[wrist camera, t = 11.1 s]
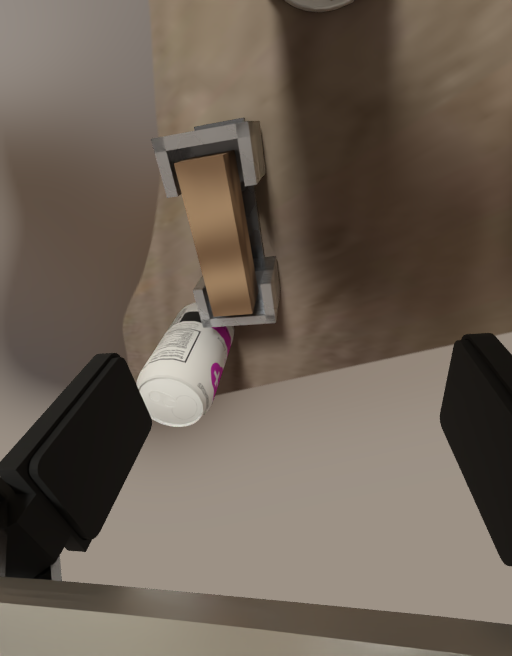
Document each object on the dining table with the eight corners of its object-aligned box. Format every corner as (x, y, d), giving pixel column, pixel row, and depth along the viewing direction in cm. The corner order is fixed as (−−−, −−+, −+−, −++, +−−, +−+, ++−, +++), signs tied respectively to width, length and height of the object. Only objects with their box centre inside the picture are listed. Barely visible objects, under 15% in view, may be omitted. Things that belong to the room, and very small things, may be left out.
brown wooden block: (192, 157, 30) (173, 163, 26) (234, 149, 29) (222, 154, 25) (223, 294, 37) (213, 316, 33) (258, 291, 36) (252, 313, 32)
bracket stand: (182, 129, 33) (148, 131, 26) (259, 115, 32) (246, 113, 24) (220, 296, 43) (204, 331, 36) (281, 291, 41) (276, 326, 34)
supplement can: (244, 314, 44) (220, 392, 31) (222, 357, 48) (194, 440, 36) (188, 289, 43) (140, 359, 30) (171, 335, 47) (123, 413, 35)
